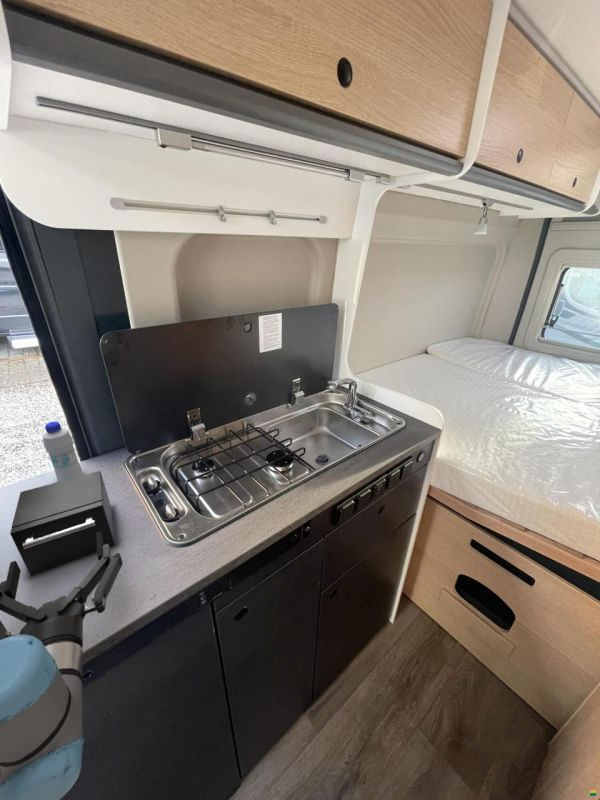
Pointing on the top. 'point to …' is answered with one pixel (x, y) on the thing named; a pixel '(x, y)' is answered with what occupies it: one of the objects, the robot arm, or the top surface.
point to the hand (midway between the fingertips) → (59, 550)
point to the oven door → (62, 537)
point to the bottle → (61, 452)
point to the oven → (62, 499)
